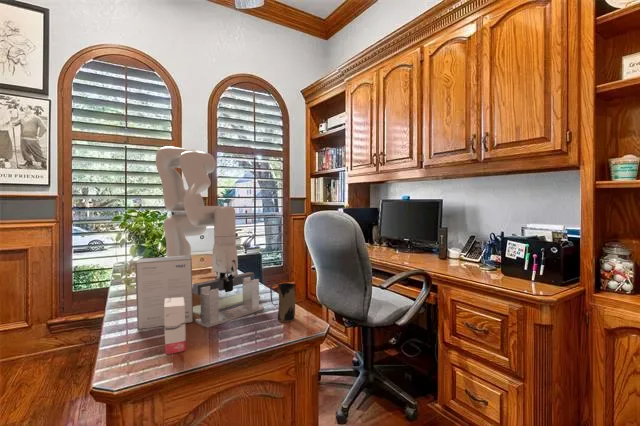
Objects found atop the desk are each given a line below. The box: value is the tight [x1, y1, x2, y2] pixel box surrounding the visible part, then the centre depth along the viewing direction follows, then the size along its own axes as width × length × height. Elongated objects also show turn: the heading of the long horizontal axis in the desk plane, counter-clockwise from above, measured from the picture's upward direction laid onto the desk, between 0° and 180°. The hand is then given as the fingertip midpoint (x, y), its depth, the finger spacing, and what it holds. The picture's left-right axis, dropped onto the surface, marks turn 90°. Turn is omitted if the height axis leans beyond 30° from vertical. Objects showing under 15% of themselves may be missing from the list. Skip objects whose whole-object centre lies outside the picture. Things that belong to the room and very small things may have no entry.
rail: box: [192, 271, 255, 296], centre depth 119 cm, size 3×24×3 cm, turn 141°
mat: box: [193, 292, 261, 316], centre depth 120 cm, size 8×26×1 cm, turn 141°
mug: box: [269, 282, 296, 323], centre depth 103 cm, size 8×6×12 cm
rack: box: [194, 277, 265, 329], centre depth 107 cm, size 7×22×11 cm, turn 141°
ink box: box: [163, 297, 187, 355], centre depth 85 cm, size 9×5×12 cm, turn 24°
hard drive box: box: [134, 254, 194, 330], centre depth 101 cm, size 16×8×20 cm, turn 111°
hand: (225, 290), depth 120 cm, fingers closed on rail, 3 cm apart
